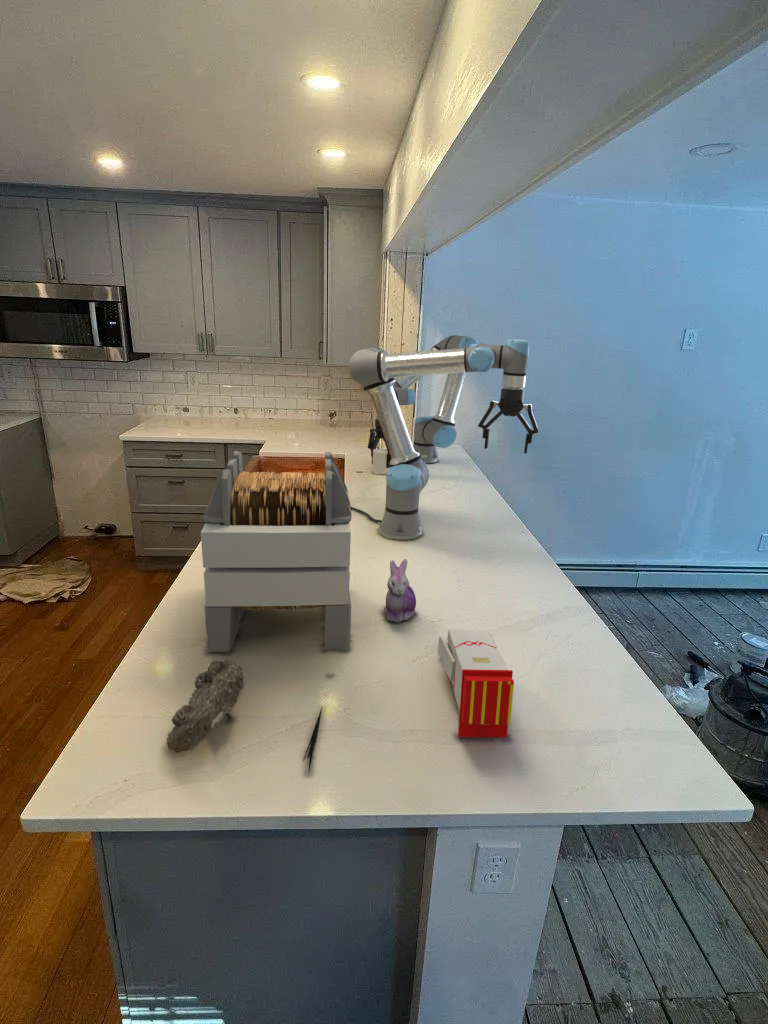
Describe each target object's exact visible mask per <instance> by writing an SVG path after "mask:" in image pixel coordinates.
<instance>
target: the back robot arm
mask: <svg viewBox="0 0 768 1024" xmlns="http://www.w3.org/2000/svg"><path fill="white" fill-rule="evenodd" d="M471 344H480V342H479V341H478V340H477V339H476V338H474V337H471V336H467V335H466V336H465V335H457V334H456V335H455V334H453V335H452V334H451V335H449V336H446V337H445V338H443V339H441V340H440V341H438V342H437V343H435V345H433V346H431V348H430V349H429V351H433V350H445V349H457V348H469V347H470V345H471ZM467 373H468V372H464V373H450V374H447V376H446V379H445V382H444V387H443V390H442V394H441V398H440V401H439V404H438V409H437V412H436V414H435V415H434V416H433V415H431V416H430V415H429V416H427V415H426V416H417V417H416V418H415V419H414V423H413V426H414V427H413V442H412V445H413V448H414V450H415V451H416V452H418V453H420V456H421V459H422V461H423V462H424V463H425V464H426V465H428V464H434V463H435V464H436V463H438V461H439V455H438V451H437V448H441V449H447V448H449V447H451V446H452V445H454V443H455V441H456V439H457V437H458V435H457V433H458V432H457V430H456V428H455V427H456V421H455V415H456V412H457V408H458V404H459V402H460V401H459V400H460V398H461V393H462V390H463V387H464V384H465V381H466V380H465V379H466V377H467ZM423 377H425V375H423V376H410V377H396V378H395V383H394V385H393V388H394V391H395V394H396V397H397V400H398V403H399V406H410V405H414V403H415V402H416V397H417V395H416V391H415V390H414V389H413V388H410V387H412V386H413V385H415V384H416V383H417V382H418V381H419V380H421V379H422V378H423ZM374 411H375V413H374V416H375V419H374V427H375V428H370V429H369V438H368V444H367V449H368V450H370V457H371V465H373V450H374V449H377V447H378V445H379V442H380V440H383V441H384V444H385V449H387V451H388V454H387V464H386V468H391V466H390V461H391V459H392V457H391V454H390V451H389V448H388V445H387V442H386V439H385V436H384V433H383V431H382V428H381V425H380V422H379V419H378V416H377V413H376V410H375V409H374Z"/></svg>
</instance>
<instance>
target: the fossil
mask: <svg viewBox="0 0 768 1024" xmlns="http://www.w3.org/2000/svg"><path fill="white" fill-rule="evenodd" d="M243 670H244V669H243V667H242V665H240V664H237V662H236V661H235V660H234V659H232V658H231V659H227V658H226V659H224V660H223V661H222V660H217V659H212V660H211V661H210V663H209V665H208V666H207V671H201V672H199V673H198V674H197V675H196V676H195V680H194V684H195V685H194V687H195V689H194V690H193V693H192V694H191V697H190V698H189V700H188V704H184V705H182V706H181V707H180V709H177V710H176V711H175V713H174V715H173V716H172V718H171V723H172V724H173V727H172V730H171V731H170V732H168V734H167V738H166V741H167V742H166V745H167V749H168V750H169V751H173V752H174V753H176V754H178V753H182V752H188V751H189V752H192V751H193V750H195V748H196V747H197V746H199V744H200V743H201V742H203V741H204V740H205V739H206V738H207V737H208V736H209V735H210V734H211V733H212V732H214V730H215V729H217V727H218V726H219V724H220V722H221V721H222V720H223V719H224V718H225V716H226V717H227V719H229V720H233V717H232V715H230V714H229V710H230V709H231V708H234V706H235V704H236V703H237V702H238V699H239V697H240V695H241V693H242V691H243V690H245V689H244V688H245V675H244V671H243Z"/></svg>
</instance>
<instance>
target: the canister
mask: <svg viewBox="0 0 768 1024" xmlns="http://www.w3.org/2000/svg"><path fill="white" fill-rule="evenodd" d="M387 454H388V451H387V448H381V447H380V448H376V449H374V450H373V464H372V468H371V470H372V471H371V472H372V473H373V474H375V475H380V476H381V475H387V472H388V470H389V469H390V468H391V467H390V468H386V464H387Z"/></svg>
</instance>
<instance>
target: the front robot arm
mask: <svg viewBox="0 0 768 1024" xmlns="http://www.w3.org/2000/svg"><path fill="white" fill-rule="evenodd" d="M529 355H530V342H529V340H526V339H507V340H506V343H505V344H501V345H500V344H488V343H487V344H486V343H479V344H471V345H470V347H469V348H457V349H445V350H433V351H430V350H421V351H410V352H398V353H397V352H396V353H389V352H387V350H385V349H383V348H380V347H377V346H371V347H368V348H363V349H360V350H357V351H355V352H354V354H353V355H351V357H350V359H349V361H348V372H349V374H350V377H351V378H352V380H353V381H355V382H356V383H358V384H361V385H362V389H363V391H364V393H366V394H368V395H369V396H370V399H371V402H372V404H373V407H374V411H375V410H376V413H377V416H378V419H379V422H380V425H381V428H382V431H383V433H384V436H385V439H386V442H387V445H388V448H389V451H390V454H391V457H392V459H391V461H390V466H391V467H390V469H389V470H388V472H387V474H386V476H385V483H386V484H385V504H384V505H385V507H384V508H385V509H384V513H383V515H382V519H376V518H374V517H372V516H371V515H370V514H369V513H368V512H365V511H363V510H362V509H359V508H356V507H354V506H351V505H350V507H351V511H355V512H358V513H360V514H362V515H365V517H367V518H368V519H369V520H370V521H372V522H374V523H379V526H378V533H379V534H380V535H381V536H382V537H385V538H387V539H389V540H395V541H410V540H415V539H418V538H420V537H421V536H422V535H423V525H422V524H421V518H420V515H419V507H420V506H419V505H420V504H419V503H420V496H421V495H420V494H421V492H422V491H423V489H424V488H425V487H426V486H427V484H428V481H429V477H430V473H429V472H430V471H429V468H428V466H427V464H426V463H424V462H423V461H422V459H421V456H420V453H418V452H416V451H415V450H414V448H413V442H412V439H411V437H410V433H409V431H408V428H407V425H406V422H405V418H404V416H403V413H402V410H401V407H400V406H401V405H399V403H398V400H397V397H396V394H395V391H394V388H393V385H394V383H395V379H396V378H397V377H410V376H423V375H424V376H433V375H434V376H435V375H436V376H437V375H448V374H450V373H464V372H467V373H479V374H480V373H486V372H488V371H490V370H491V369H496V370H497V369H498V370H503V372H502V373H503V374H502V378H501V379H502V380H501V388H500V397H499V401H495V399H494V400H491V401H490V403H489V406H488V409H486V412H485V413H484V415H483V417H482V418H481V419H480V421H479V423H478V428H481V429H482V439H484V449H486V450H487V449H488V448H489V439H490V431H491V429H490V428H489V427H490V426H491V425H492V424H493V423H494V422H495V421H497V420H498V418H500V417H501V416H502V415H503V416H504V417H517V419H518V420H519V421H520V423H521V424H522V425H523V427H524V429H525V431H526V432H527V433H526V434H525V444H524V451H523V454H527V453H528V448H529V444H532V443H533V435H535V434H538V433H539V431H540V429H539V426H538V423H537V421H536V420H537V419H536V418H535V415H534V413H533V404H532V403H529V404H524V396H525V389H524V388H525V387H526V379H527V370H528V364H529V358H530V357H529ZM424 376H423V377H424ZM496 407H498V408H499V411H498V412H497V413H496V414H495V415H494V416H493V417H492V418H491V419H490V420H489V421H488V422H487V423H486V421H487V420H488V418H489V416H490V415H491V413H492V412H493V410H494V409H495V408H496ZM523 409H524V410H525V411H526V412H527V415H528V418H529V420H530V423H531V425H530V424H529V422H528V421H527V420H526V418H525V416H524V415H523V413H522V412H521V411H522V410H523ZM485 423H486V424H485Z"/></svg>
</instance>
